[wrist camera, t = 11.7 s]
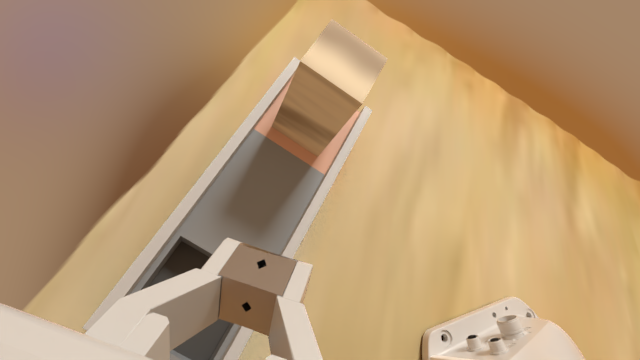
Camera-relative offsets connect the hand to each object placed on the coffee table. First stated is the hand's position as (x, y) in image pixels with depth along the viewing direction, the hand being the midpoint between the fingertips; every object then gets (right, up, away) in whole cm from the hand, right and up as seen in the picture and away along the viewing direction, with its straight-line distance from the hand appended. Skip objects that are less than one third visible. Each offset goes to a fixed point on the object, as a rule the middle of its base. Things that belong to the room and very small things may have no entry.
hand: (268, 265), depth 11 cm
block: (0, +9, +27) cm, 28 cm away
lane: (-5, 0, +25) cm, 25 cm away
